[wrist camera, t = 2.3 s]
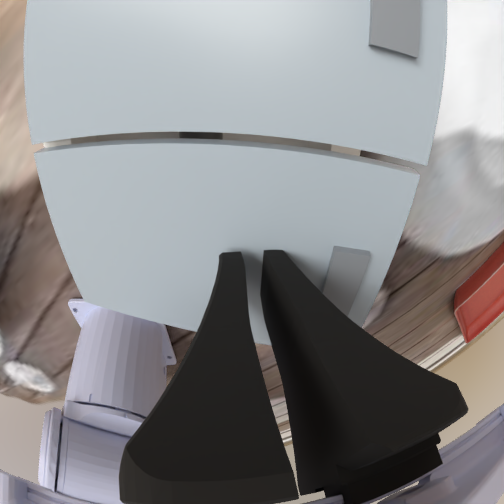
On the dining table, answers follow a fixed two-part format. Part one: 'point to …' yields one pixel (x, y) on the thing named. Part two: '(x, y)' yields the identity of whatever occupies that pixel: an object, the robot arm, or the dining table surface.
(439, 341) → the dining table surface
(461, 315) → the plant saucer
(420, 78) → the cover
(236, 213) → the cover
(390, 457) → the robot arm
